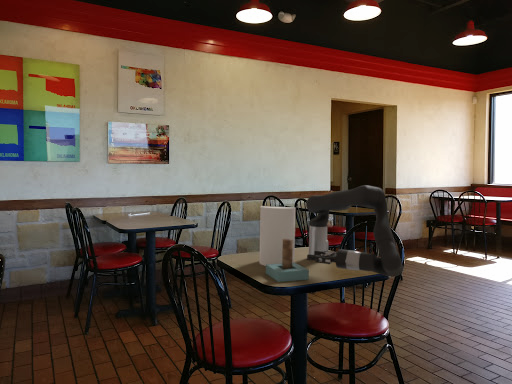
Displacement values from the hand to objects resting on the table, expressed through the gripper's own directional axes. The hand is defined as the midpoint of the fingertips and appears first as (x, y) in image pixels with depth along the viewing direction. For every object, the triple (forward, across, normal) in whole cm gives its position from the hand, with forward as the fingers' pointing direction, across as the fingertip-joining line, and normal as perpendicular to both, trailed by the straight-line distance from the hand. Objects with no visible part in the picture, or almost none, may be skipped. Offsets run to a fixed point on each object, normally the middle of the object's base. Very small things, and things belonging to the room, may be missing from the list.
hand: (311, 255), depth 166 cm
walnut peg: (+11, 0, +11) cm, 15 cm away
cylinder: (+25, -20, +11) cm, 34 cm away
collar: (+11, 0, +11) cm, 15 cm away
